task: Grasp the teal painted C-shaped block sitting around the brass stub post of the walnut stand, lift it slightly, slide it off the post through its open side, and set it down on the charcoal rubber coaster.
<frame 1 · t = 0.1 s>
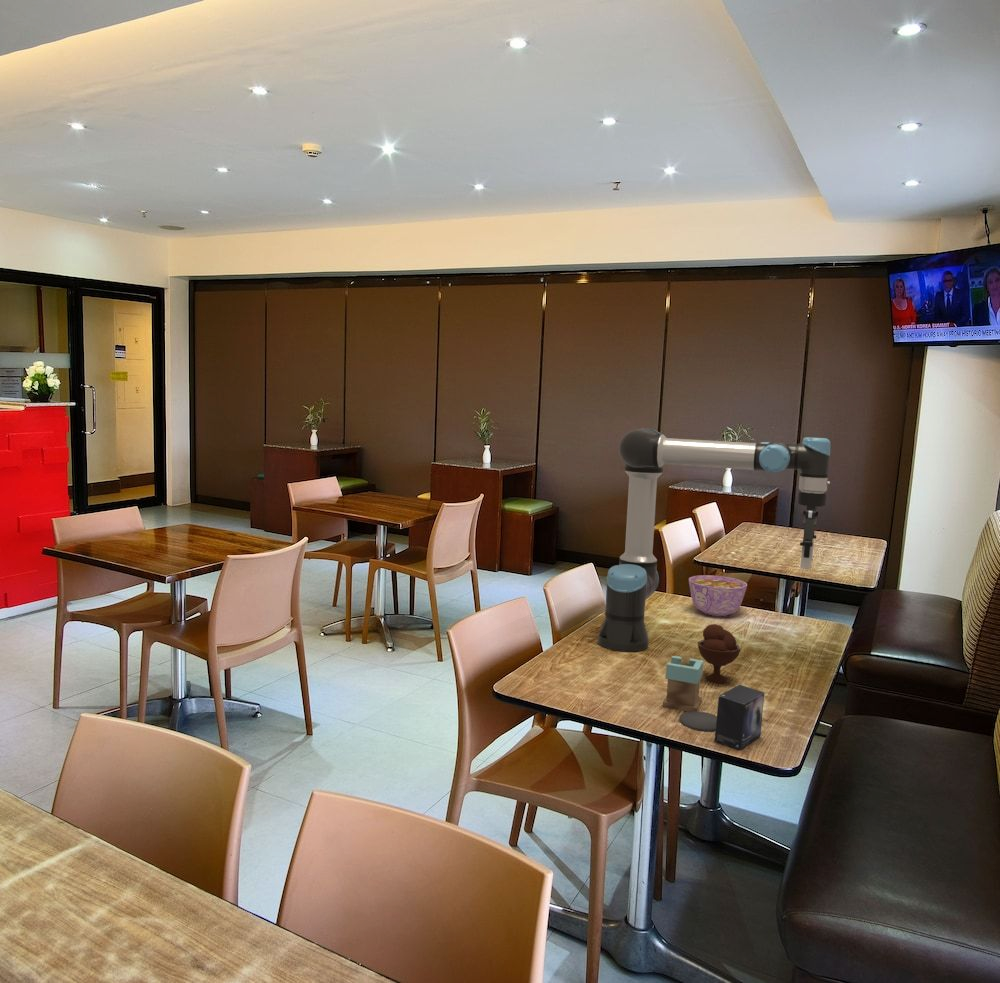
hand: (806, 564, 228), 28 cm above the table, fingers open, 13 cm apart
c link: (684, 676, 191), point 7 cm above the table, touching stand
small box: (738, 740, 173), on the table
coaster: (701, 722, 181), on the table
stand: (682, 704, 192), on the table
bowl of food: (715, 614, 278), on the table
ice cream bowl: (716, 680, 210), on the table
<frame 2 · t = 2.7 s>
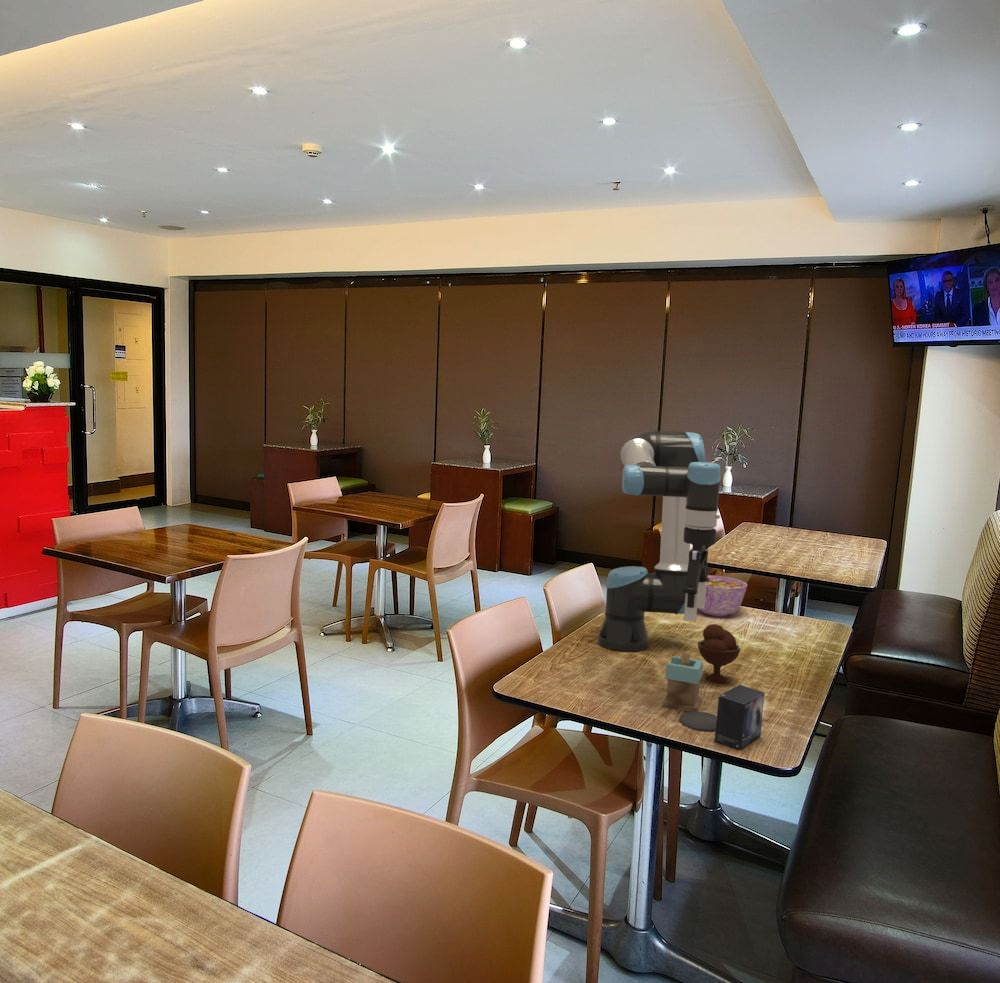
hand: (694, 614, 190), 22 cm above the table, fingers open, 13 cm apart
nothing on the table moved.
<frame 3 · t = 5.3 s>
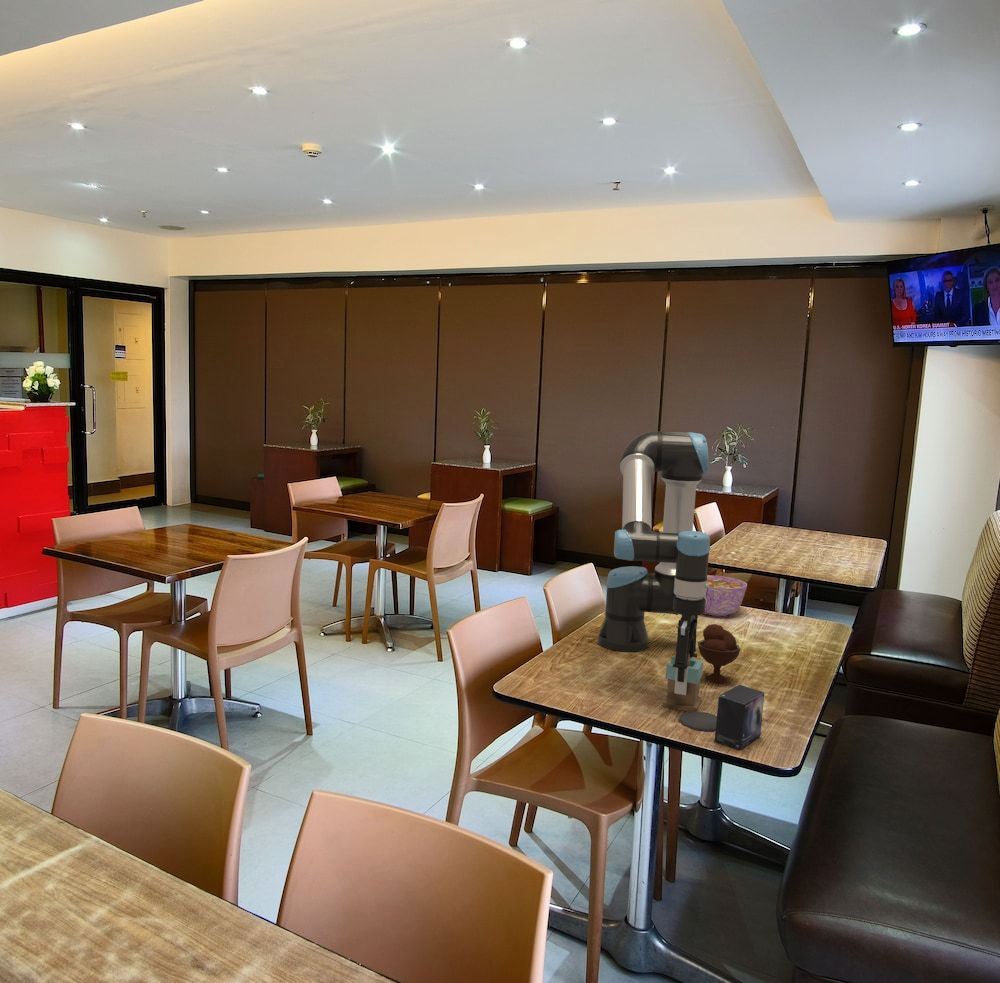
hand: (683, 688, 191), 4 cm above the table, fingers closed on c link, 7 cm apart
c link: (684, 676, 191), point 7 cm above the table, touching gripper, stand
everything else where it was.
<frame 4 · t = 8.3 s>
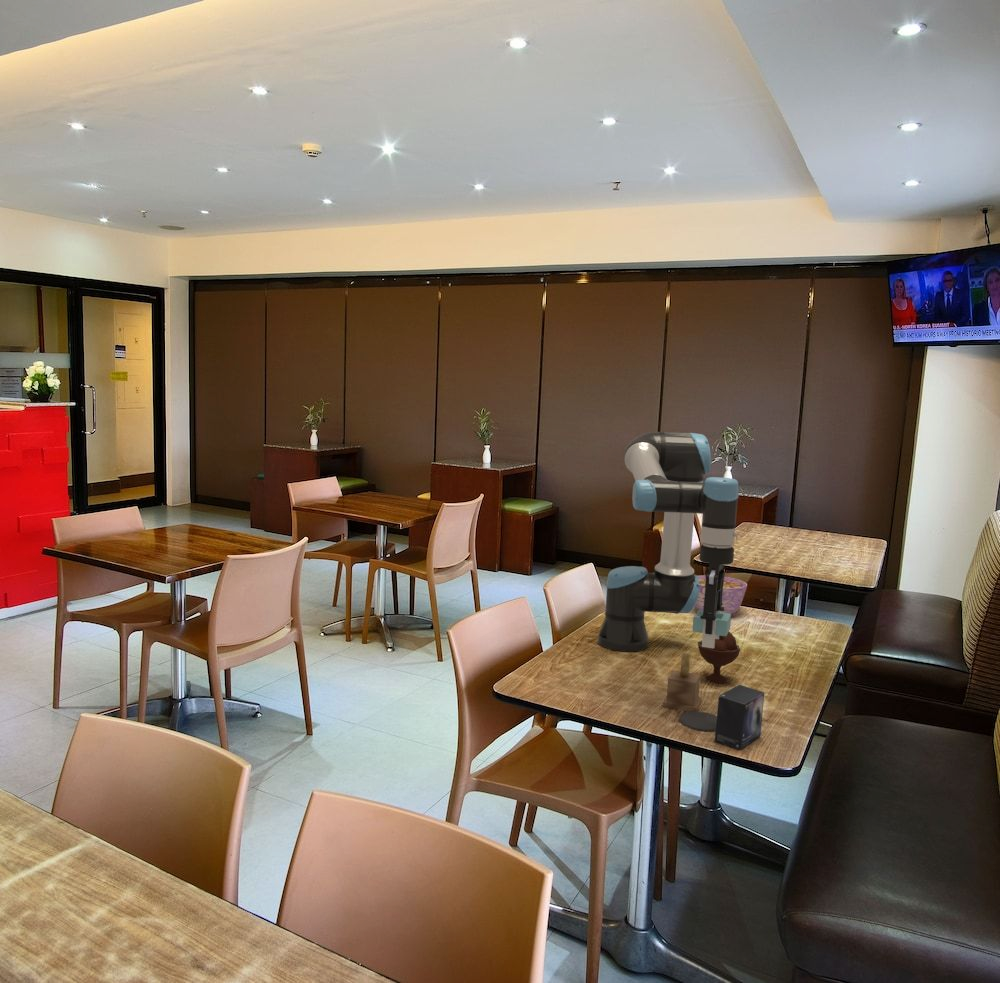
hand: (710, 642, 182), 18 cm above the table, fingers closed on c link, 7 cm apart
c link: (711, 630, 182), point 21 cm above the table, touching gripper
everything else where it was.
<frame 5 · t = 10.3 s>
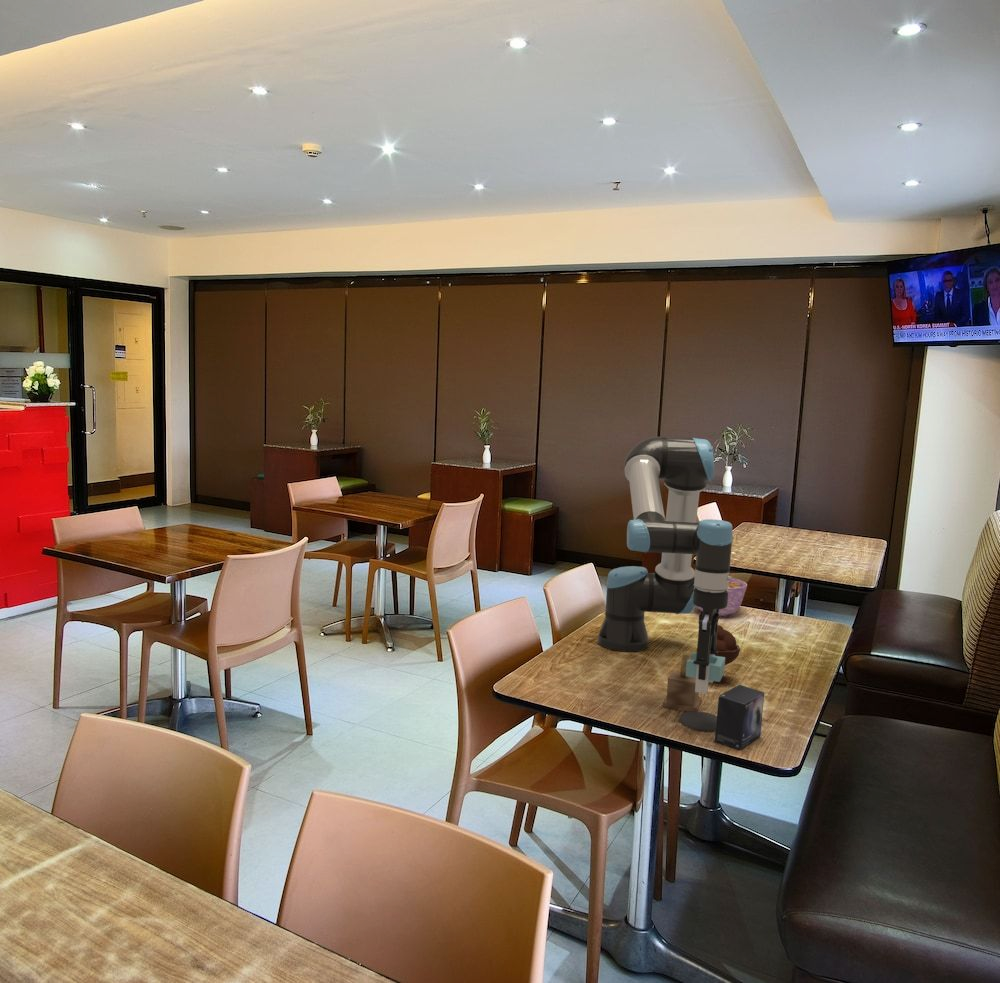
hand: (704, 686, 180), 9 cm above the table, fingers closed on c link, 7 cm apart
c link: (705, 674, 179), point 12 cm above the table, touching gripper
everything else where it was.
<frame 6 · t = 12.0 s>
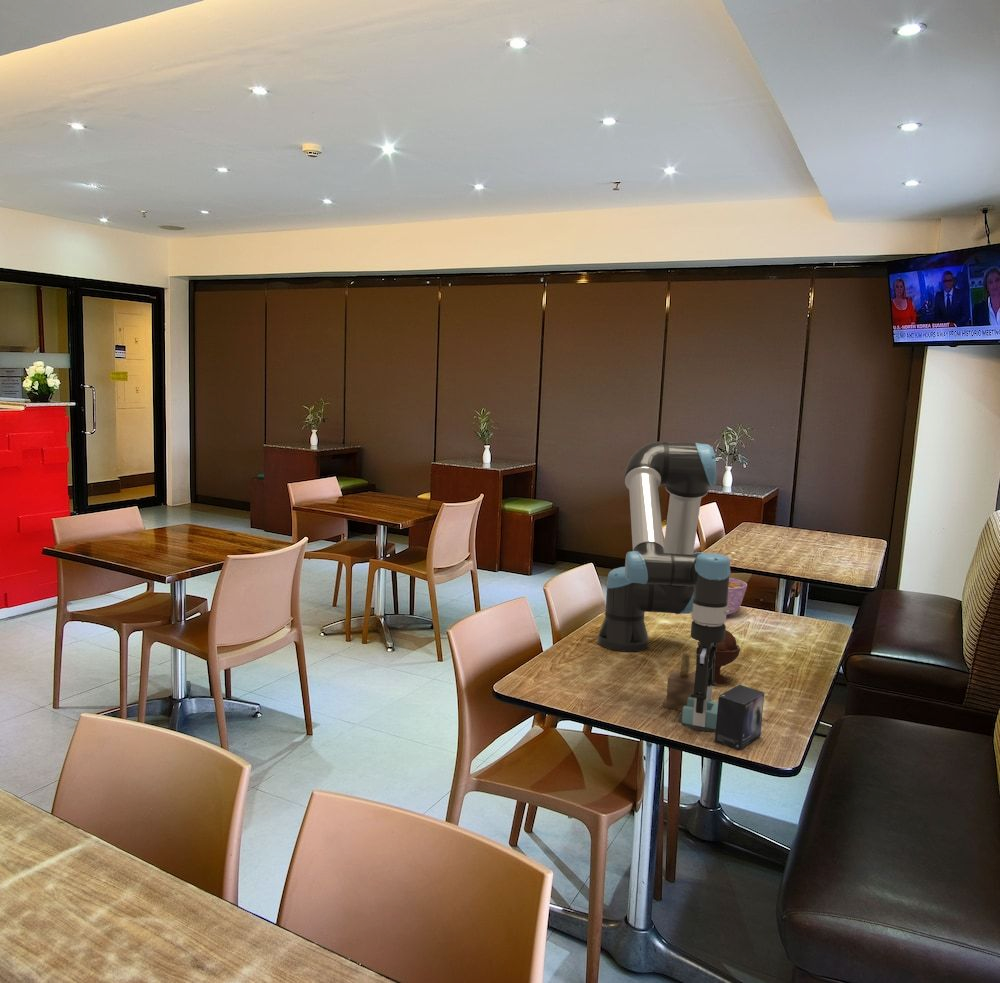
hand: (701, 718, 181), 1 cm above the table, fingers closed on c link, coaster, 8 cm apart
c link: (701, 719, 181), point 1 cm above the table, touching coaster, gripper
everything else where it was.
when the fingers open (1 cm above the table, at t = 12.2 s): c link stays where it is, resting on coaster.
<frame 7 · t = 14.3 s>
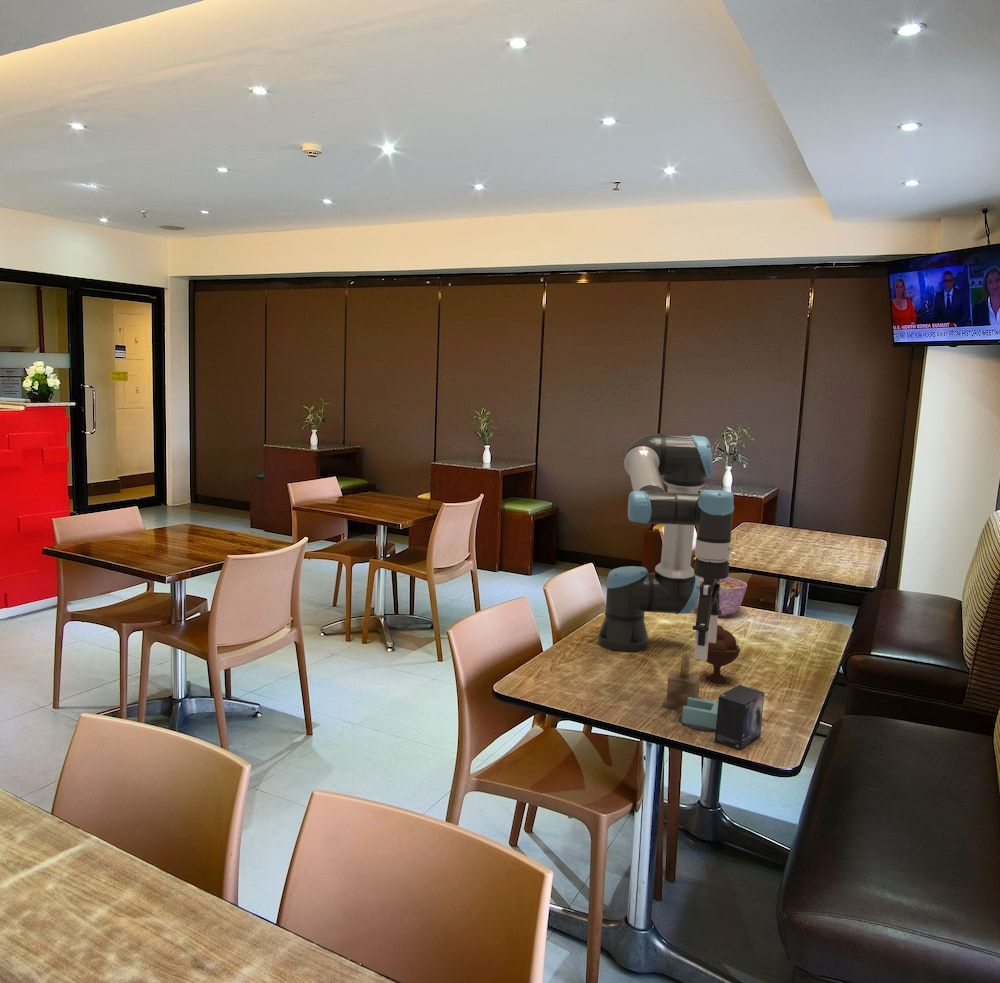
hand: (705, 650, 180), 17 cm above the table, fingers open, 13 cm apart
c link: (701, 719, 181), point 1 cm above the table, touching coaster
everything else where it was.
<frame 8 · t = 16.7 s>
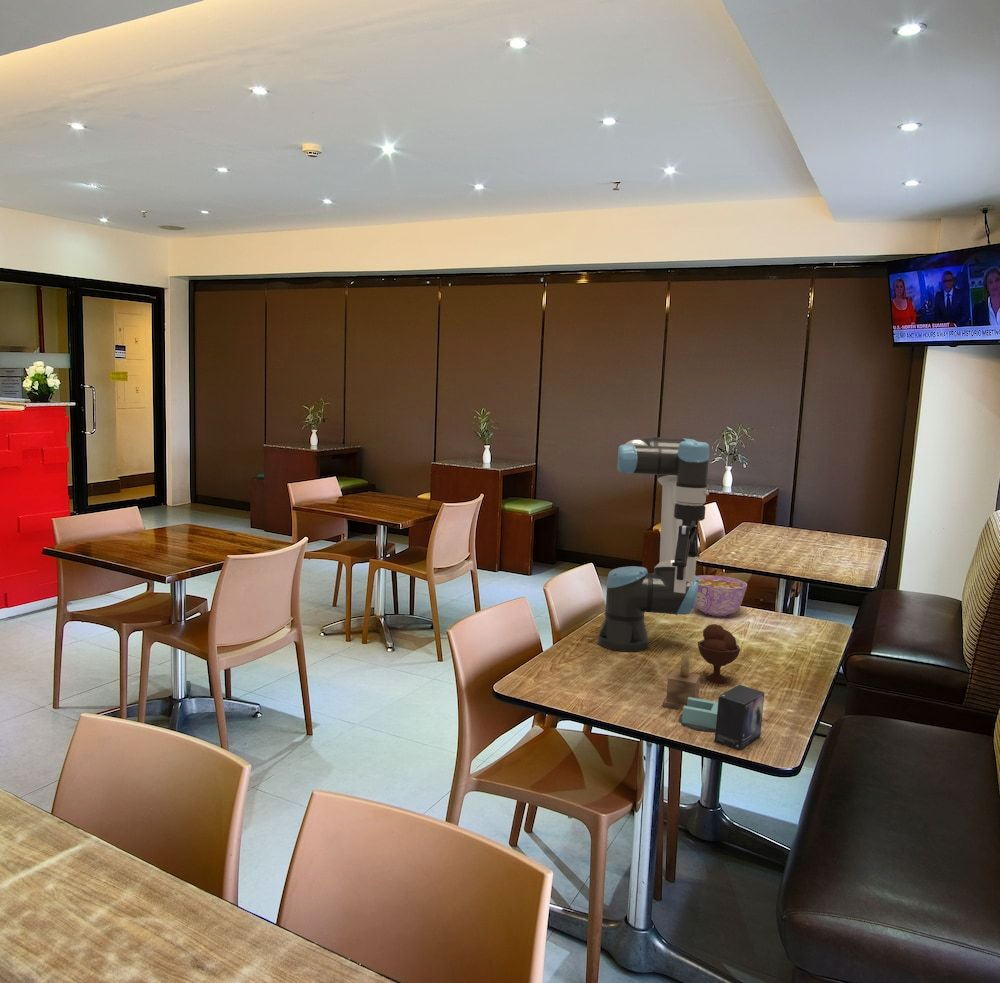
hand: (684, 587, 199), 27 cm above the table, fingers open, 13 cm apart
nothing on the table moved.
at the end: c link 0.1 cm from the coaster (horizontally); c link point 0.6 cm above the table; c link touching coaster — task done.
